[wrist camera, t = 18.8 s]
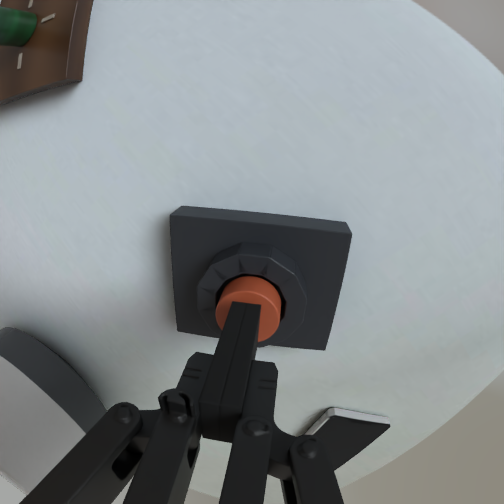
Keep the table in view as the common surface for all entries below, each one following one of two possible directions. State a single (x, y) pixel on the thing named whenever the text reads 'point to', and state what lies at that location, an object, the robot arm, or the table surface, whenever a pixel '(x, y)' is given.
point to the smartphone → (347, 432)
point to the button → (252, 302)
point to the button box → (259, 269)
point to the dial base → (46, 48)
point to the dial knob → (16, 26)
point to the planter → (39, 409)
